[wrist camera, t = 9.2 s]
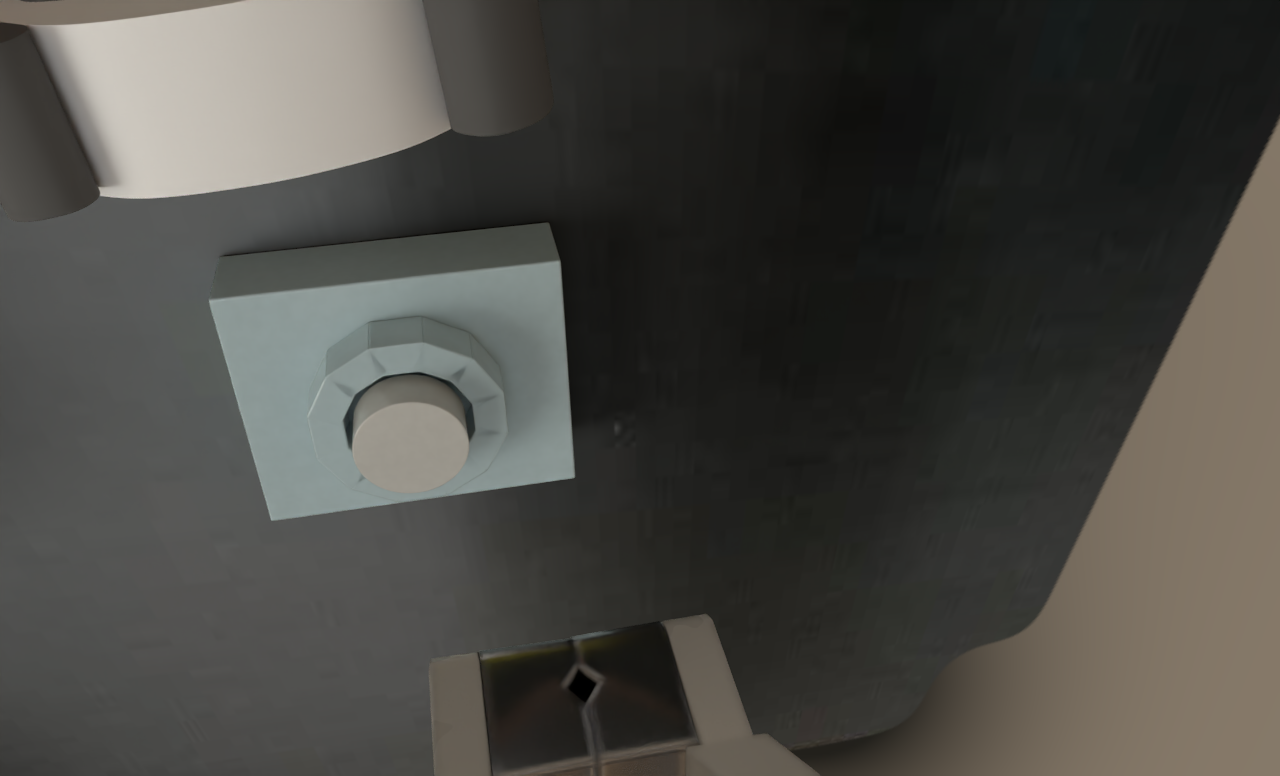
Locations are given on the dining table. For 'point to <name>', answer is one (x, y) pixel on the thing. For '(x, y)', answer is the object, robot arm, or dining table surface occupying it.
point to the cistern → (397, 357)
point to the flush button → (410, 434)
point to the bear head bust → (246, 90)
